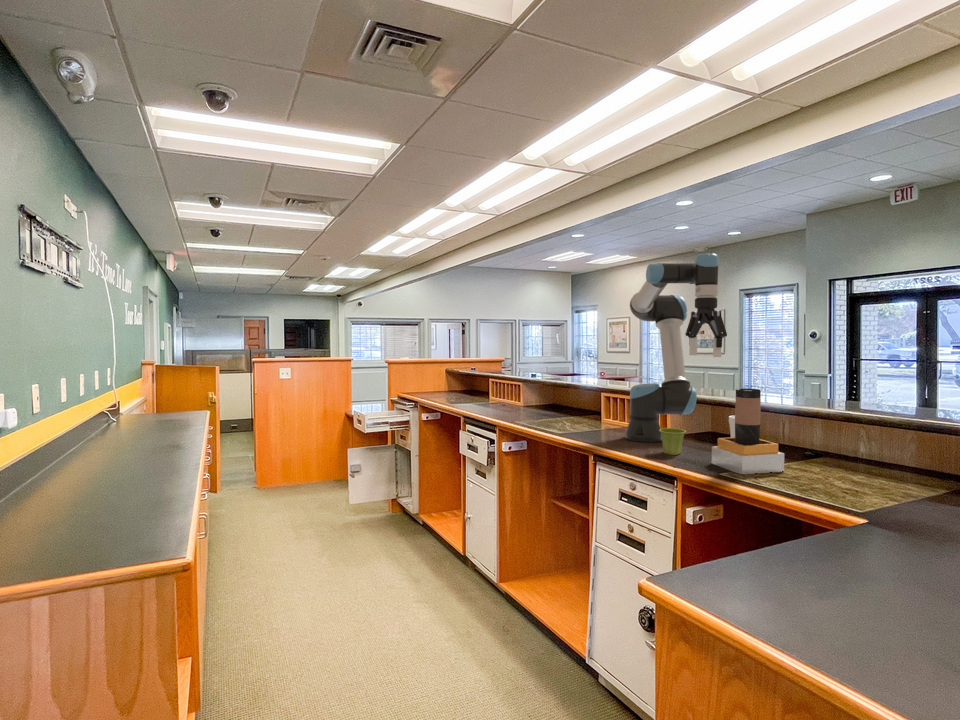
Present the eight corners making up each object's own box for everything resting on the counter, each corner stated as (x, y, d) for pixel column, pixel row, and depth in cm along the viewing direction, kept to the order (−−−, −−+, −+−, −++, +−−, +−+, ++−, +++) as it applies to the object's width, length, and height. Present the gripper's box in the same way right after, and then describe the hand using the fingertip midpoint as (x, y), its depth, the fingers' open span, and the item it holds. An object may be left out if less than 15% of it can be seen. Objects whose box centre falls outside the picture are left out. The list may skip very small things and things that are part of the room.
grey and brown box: (711, 463, 189) (712, 437, 189) (762, 460, 194) (763, 435, 194) (741, 474, 175) (742, 446, 174) (796, 470, 180) (797, 443, 179)
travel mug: (762, 451, 179) (764, 391, 178) (737, 450, 181) (738, 390, 180) (755, 446, 187) (757, 388, 186) (731, 446, 188) (733, 388, 187)
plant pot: (689, 456, 201) (689, 432, 200) (663, 456, 201) (663, 432, 200) (680, 450, 210) (680, 428, 210) (655, 450, 210) (656, 428, 210)
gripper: (676, 299, 209) (675, 354, 210) (720, 295, 184) (718, 358, 186) (693, 299, 210) (692, 354, 212) (739, 295, 186) (737, 357, 187)
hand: (704, 356), depth 199 cm, fingers open, 13 cm apart
